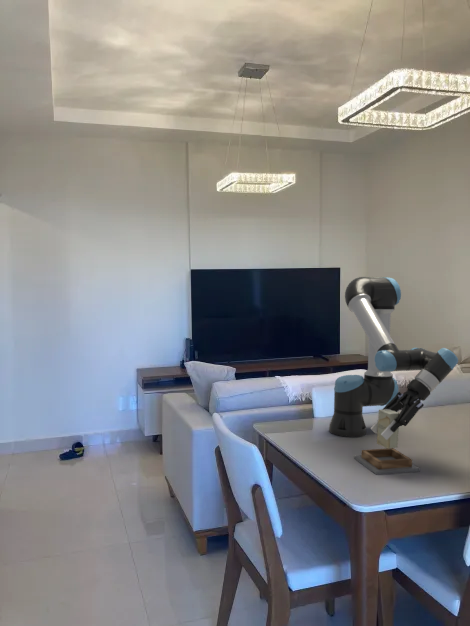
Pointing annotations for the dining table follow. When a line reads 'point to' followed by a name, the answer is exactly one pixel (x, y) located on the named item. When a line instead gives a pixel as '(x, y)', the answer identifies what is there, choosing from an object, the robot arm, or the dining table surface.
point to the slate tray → (385, 471)
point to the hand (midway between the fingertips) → (378, 434)
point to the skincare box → (383, 422)
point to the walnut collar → (398, 462)
